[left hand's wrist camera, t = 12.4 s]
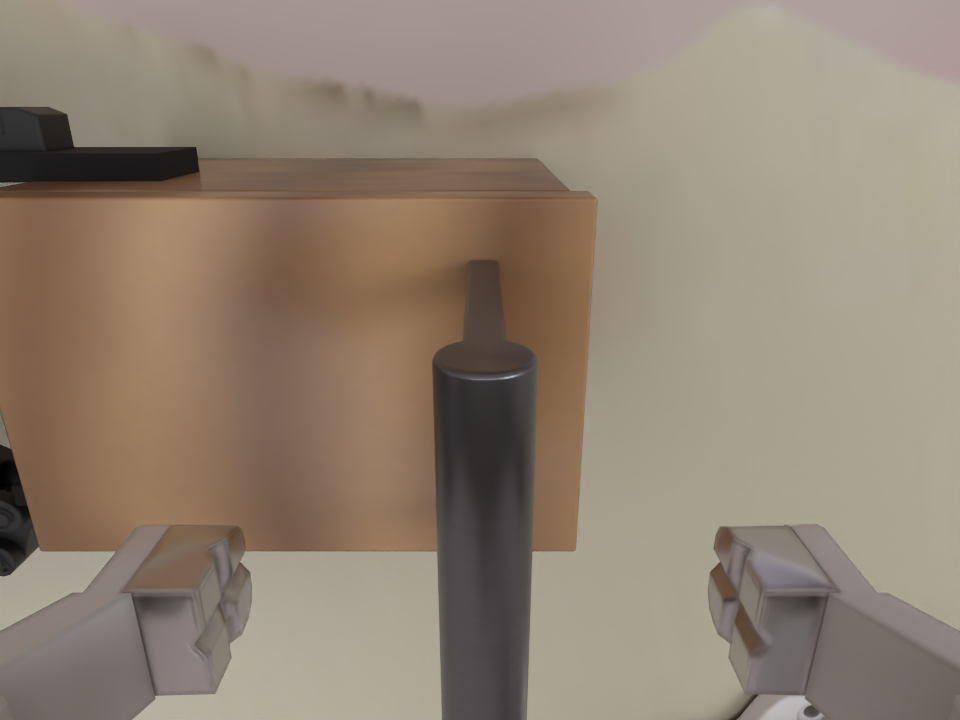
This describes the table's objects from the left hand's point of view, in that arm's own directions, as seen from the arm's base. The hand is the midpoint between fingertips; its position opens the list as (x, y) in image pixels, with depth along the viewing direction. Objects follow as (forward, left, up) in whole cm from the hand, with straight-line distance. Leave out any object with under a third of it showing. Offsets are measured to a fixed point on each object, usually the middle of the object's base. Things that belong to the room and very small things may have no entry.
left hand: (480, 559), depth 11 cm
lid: (+5, -1, -8) cm, 9 cm away
